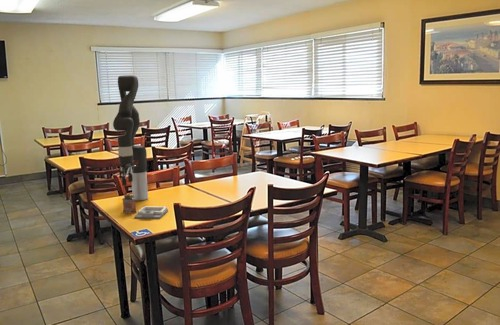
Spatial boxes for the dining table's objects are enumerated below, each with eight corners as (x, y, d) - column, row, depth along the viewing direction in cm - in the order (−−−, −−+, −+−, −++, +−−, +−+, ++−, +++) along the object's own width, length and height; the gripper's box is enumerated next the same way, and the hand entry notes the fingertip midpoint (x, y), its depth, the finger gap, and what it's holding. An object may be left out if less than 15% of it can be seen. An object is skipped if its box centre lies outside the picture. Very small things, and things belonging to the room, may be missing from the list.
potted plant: (121, 212, 237) (120, 194, 235) (125, 210, 240) (124, 193, 238) (134, 213, 234) (132, 196, 232) (137, 211, 237) (136, 194, 235)
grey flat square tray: (143, 210, 239) (143, 205, 239) (168, 211, 238) (167, 205, 237) (134, 218, 226) (134, 212, 225) (160, 218, 224) (159, 213, 223)
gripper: (124, 152, 239) (126, 180, 241) (113, 156, 225) (115, 186, 228) (137, 152, 238) (139, 180, 241) (127, 156, 224) (129, 186, 227)
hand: (127, 183), depth 234 cm, fingers open, 8 cm apart
